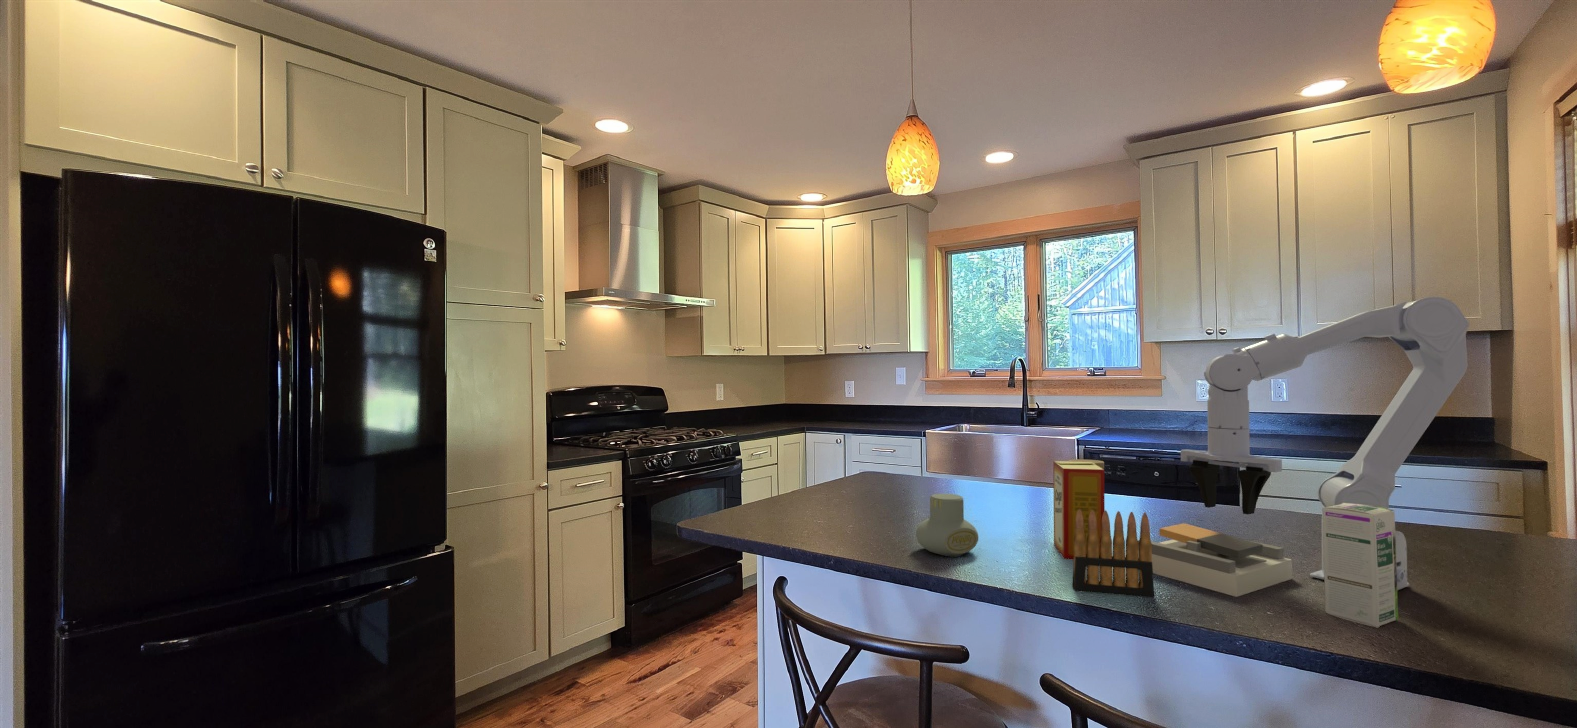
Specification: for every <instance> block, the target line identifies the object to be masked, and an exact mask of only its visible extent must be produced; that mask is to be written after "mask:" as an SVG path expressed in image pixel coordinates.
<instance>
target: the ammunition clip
mask: <svg viewBox="0 0 1577 728" xmlns="http://www.w3.org/2000/svg"><path fill="white" fill-rule="evenodd" d="M1123 523H1124V521H1123V517H1122V514H1121V511H1119V510H1117V511H1116V514H1115V517H1114V523H1113V524H1114V526H1113V529H1114V530H1113V538H1112V535H1111V521H1110V517H1109V513H1108V511H1107V510H1106V509H1105V511H1104V513H1103V516H1102V523H1101V536H1100V555H1099V539H1098V535H1097V521H1096V516H1095V513H1094V511H1093V510H1091V512H1090V515H1089V521H1088V535H1087V554H1086V539H1085V534H1084V521H1083V515H1082V512H1081V510H1080V509H1079V510H1078V512H1077V515H1076V521H1075V535H1074V560H1073V561H1072V562H1073V565H1072V582H1071V583H1072V584H1071V585H1072V589H1073V591H1074V592H1079V591H1082V592H1081V593H1092V594H1093V593H1094V594H1103V595H1104V594H1106V595H1115V596H1117V595H1118V596H1127V597H1128V596H1130V597H1140V598H1141V597H1143V598H1152V599H1153V598H1155V585H1154V573H1153V567H1152V544H1151V541H1152V540H1151V530H1150V521H1149V517H1148V514H1147V512H1145V511H1144V512H1143V513H1142V517H1141V520H1140V531H1139V539H1138V533H1137V521H1136V518H1135V514H1134V512H1133V511H1130V513H1129V515H1128V519H1127V525H1126V526H1127V529H1126V537H1124V536H1125V533H1124V532H1125V531H1124V524H1123ZM1138 540H1139V558H1138Z"/></svg>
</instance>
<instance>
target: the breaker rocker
mask: <svg viewBox="0 0 1577 728" xmlns="http://www.w3.org/2000/svg"><path fill="white" fill-rule="evenodd" d="M1158 535H1159V536H1161V537H1164V538H1167V539H1169V540H1176V541H1180V542H1183V543H1186V544H1187V541H1194V542H1199V543H1201V548H1203V549H1206V550H1210V551H1213V552H1217V553H1220V554H1223V555H1227V556H1230V557H1233V558H1237V559H1239V558H1243V557H1247V556H1250V555H1254V554H1258V553H1261V552H1262V549H1263V545H1262V544H1259V543H1260V542H1258V543H1255V542H1256V541H1253V542H1251V541H1252V540H1248V539H1242V538H1241V537H1235V536H1234V535H1233V536H1232V535H1229V534H1224V533H1222V532H1217V531H1214V530H1210V529H1207V528H1203V527H1199V526H1195V525H1192V524H1188V523H1183V522H1182V523H1179V524H1174V525H1169V526H1165V527H1160V528H1159V533H1158Z"/></svg>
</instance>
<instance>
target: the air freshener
mask: <svg viewBox="0 0 1577 728" xmlns="http://www.w3.org/2000/svg"><path fill="white" fill-rule="evenodd" d="M964 506H965V505H964V497H962V496H961V495H959V494H955V493H935V494H934V493H933V494H932V495H931V496H930V497H929V517H928V518H927V519H925V520H923V521H922V522H920V524H918V526H917V528H916V530H915V537H916V540H917V542H918V544H919V545H920V546H921V547H922V548H924V549H925V550H927V551H928V552H930V553H933V554H936V555H940V556H945V557H952V558H953V557H954V558H955V557H960V556H963V555H965V554H966V553H969V552H970V551H972V550H973V549H974V548H975V547H976V546H977V544H978V542H979V533H978V530H977V529H976V527H975V526H974V525H973V524H972V523H970V522H969V521H967V519H965V518H964V516H965V515H964V510H965V508H964Z"/></svg>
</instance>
